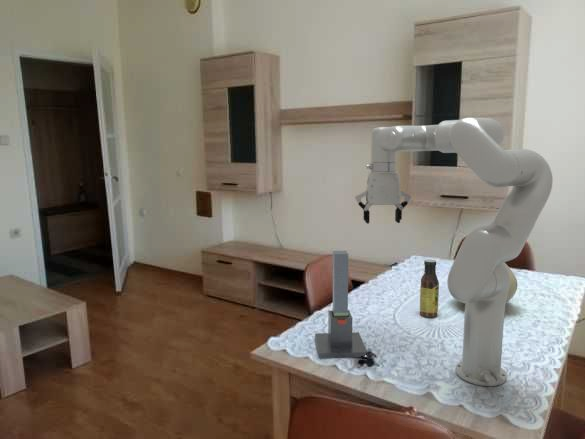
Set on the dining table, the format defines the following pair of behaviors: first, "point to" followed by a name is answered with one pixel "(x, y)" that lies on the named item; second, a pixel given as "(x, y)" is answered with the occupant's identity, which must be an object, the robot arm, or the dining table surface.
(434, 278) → the sauce bottle
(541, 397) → the dining table surface
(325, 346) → the jack base
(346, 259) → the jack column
